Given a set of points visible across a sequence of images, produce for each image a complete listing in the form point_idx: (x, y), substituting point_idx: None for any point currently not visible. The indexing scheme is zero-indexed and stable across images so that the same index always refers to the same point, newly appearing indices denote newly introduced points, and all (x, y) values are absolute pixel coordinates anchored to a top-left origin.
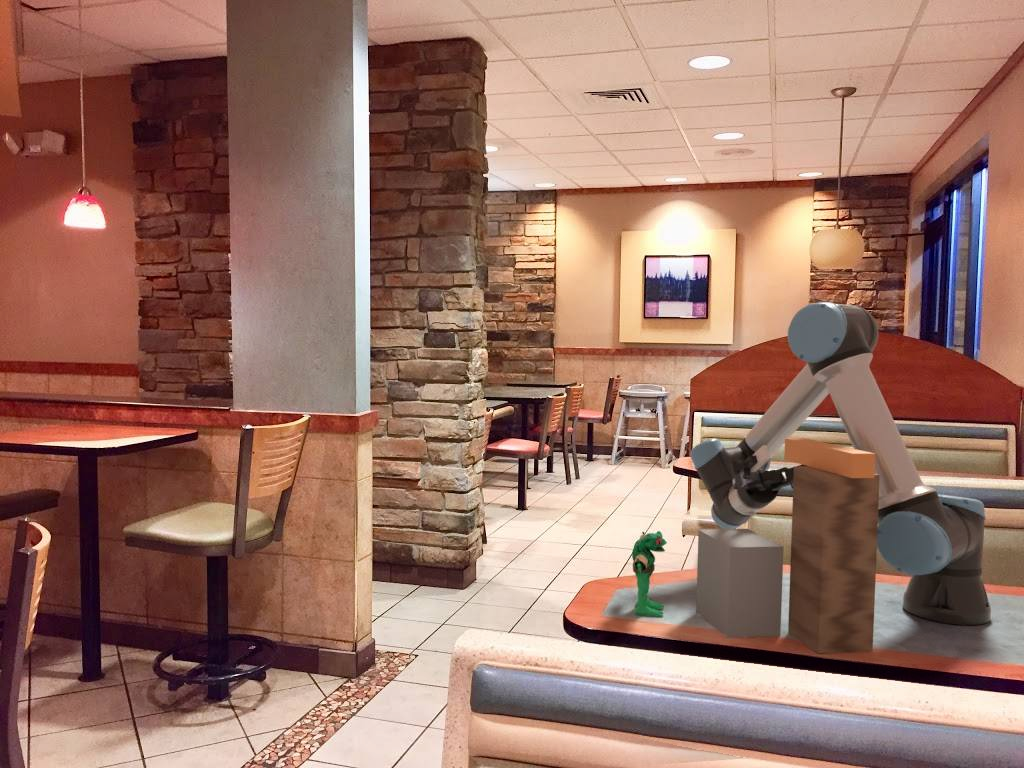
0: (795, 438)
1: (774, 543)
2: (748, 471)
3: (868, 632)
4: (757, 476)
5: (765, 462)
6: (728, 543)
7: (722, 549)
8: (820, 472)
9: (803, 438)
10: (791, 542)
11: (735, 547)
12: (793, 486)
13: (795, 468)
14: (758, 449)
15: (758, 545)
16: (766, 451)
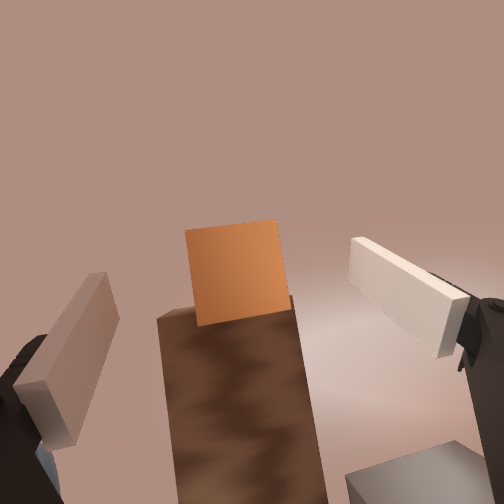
0: (232, 226)
1: (368, 491)
2: (467, 351)
3: None
4: (501, 490)
5: (365, 295)
6: (479, 465)
7: None
8: None
9: (196, 231)
10: (324, 485)
11: (445, 443)
12: (299, 342)
13: (290, 298)
14: (386, 249)
15: (402, 467)
16: (354, 257)
